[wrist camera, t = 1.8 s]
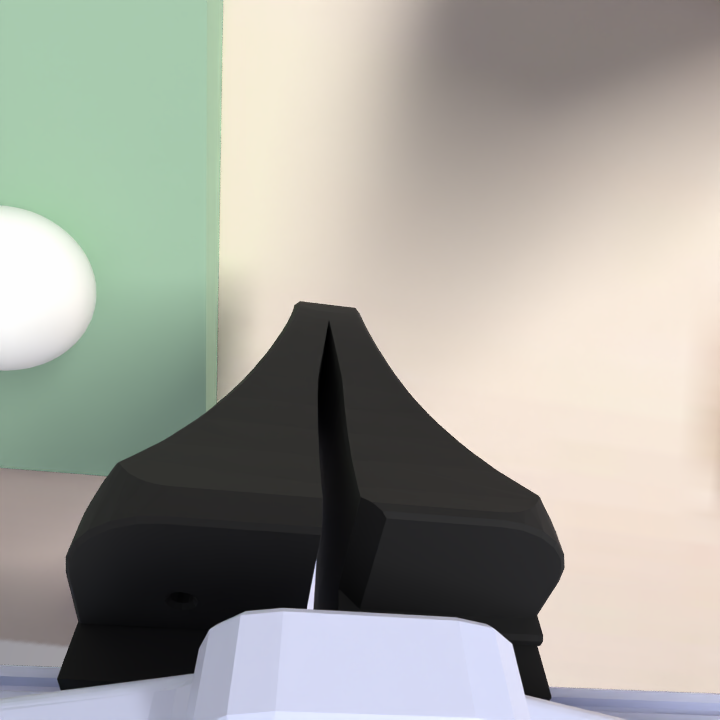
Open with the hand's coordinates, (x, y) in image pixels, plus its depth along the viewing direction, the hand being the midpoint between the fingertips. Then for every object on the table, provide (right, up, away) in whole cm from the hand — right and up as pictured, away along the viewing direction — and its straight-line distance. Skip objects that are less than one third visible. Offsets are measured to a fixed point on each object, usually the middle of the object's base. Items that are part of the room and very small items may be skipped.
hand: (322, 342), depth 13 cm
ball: (-7, +1, 0) cm, 7 cm away
